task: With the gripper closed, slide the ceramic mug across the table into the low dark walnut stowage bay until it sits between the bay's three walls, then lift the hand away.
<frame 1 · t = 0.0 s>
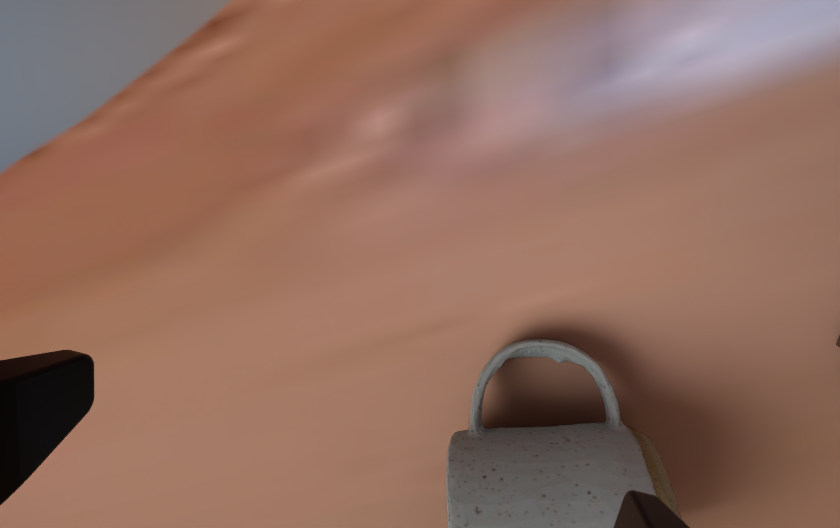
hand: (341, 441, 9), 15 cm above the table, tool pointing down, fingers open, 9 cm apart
ceramic mug: (540, 438, 24), on the table
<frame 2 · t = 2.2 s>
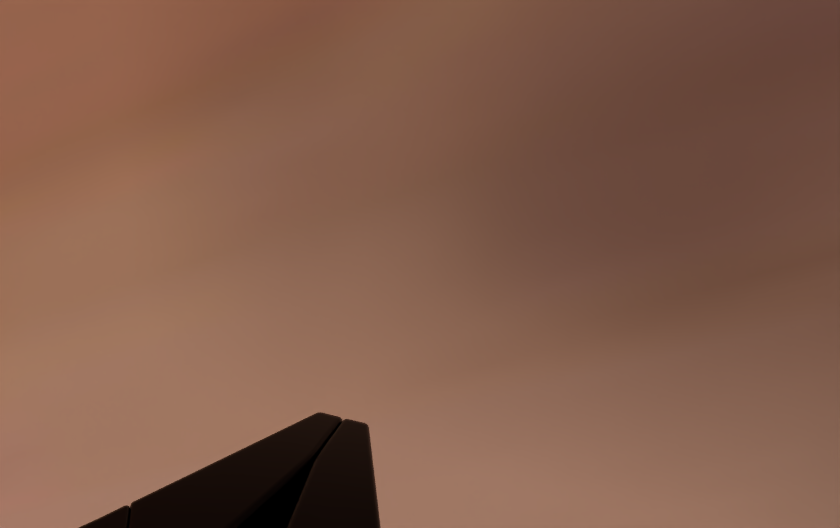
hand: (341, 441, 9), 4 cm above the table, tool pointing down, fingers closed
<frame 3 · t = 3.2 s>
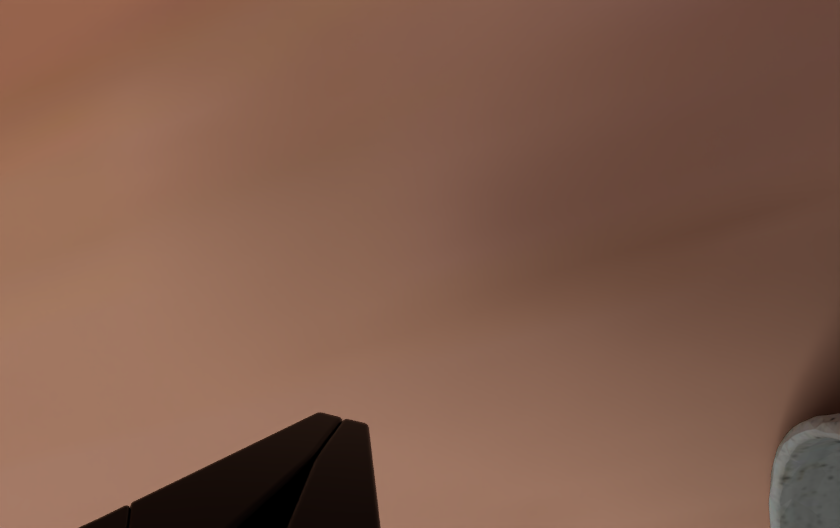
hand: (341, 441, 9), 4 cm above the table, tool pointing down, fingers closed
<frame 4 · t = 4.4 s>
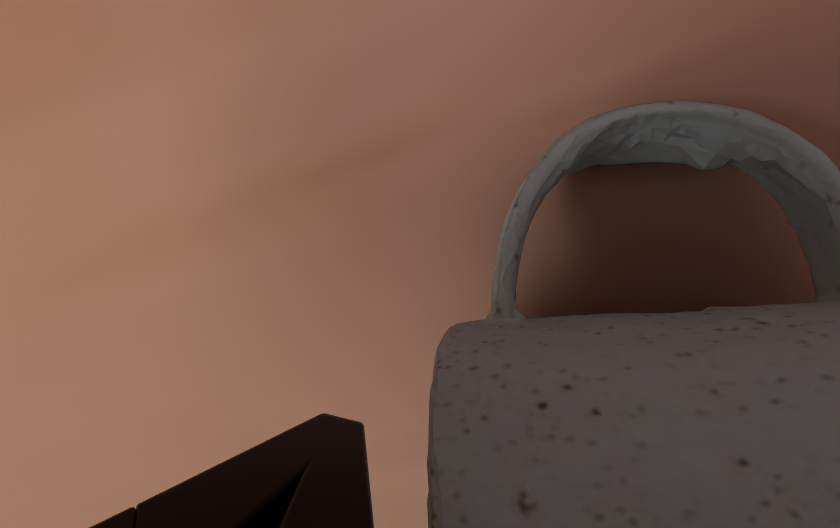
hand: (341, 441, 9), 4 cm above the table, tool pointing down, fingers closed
ceramic mug: (631, 362, 12), on the table, touching gripper
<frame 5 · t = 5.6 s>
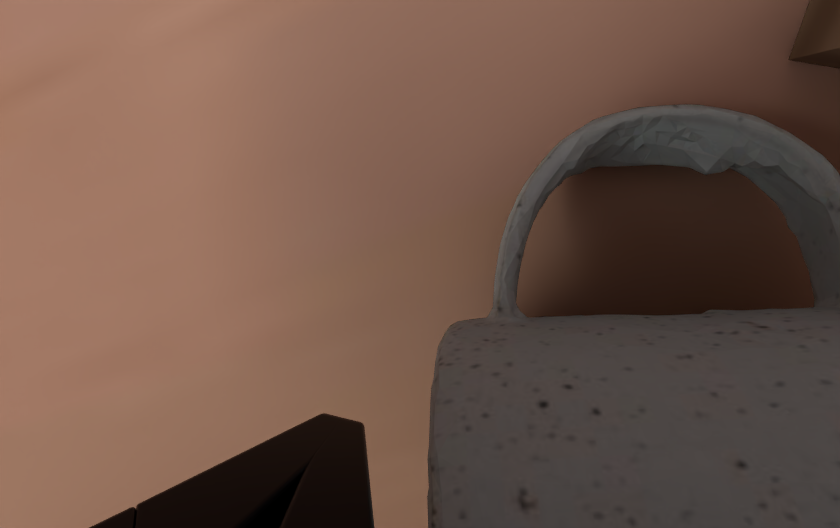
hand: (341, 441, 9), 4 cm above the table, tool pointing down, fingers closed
ceramic mug: (629, 363, 12), on the table, touching gripper
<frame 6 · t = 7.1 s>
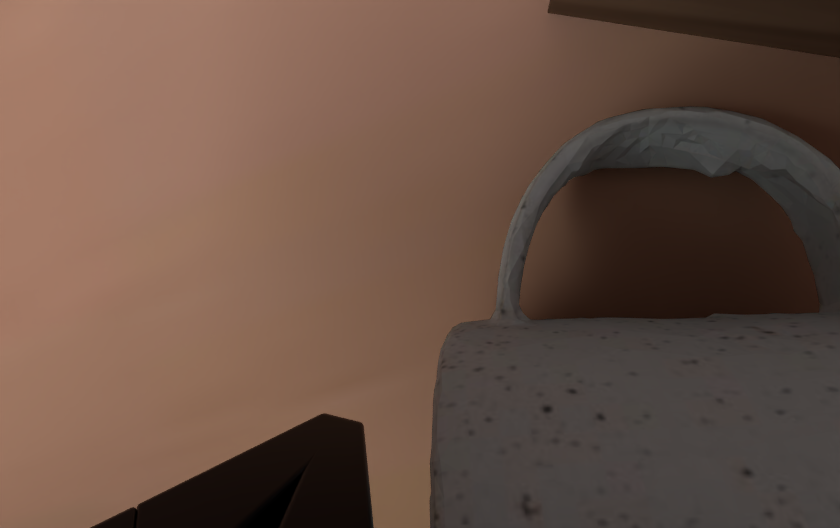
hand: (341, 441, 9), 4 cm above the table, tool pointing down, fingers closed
stowage bay: (739, 425, 11), on the table
ceramic mug: (632, 366, 12), on the table, touching gripper
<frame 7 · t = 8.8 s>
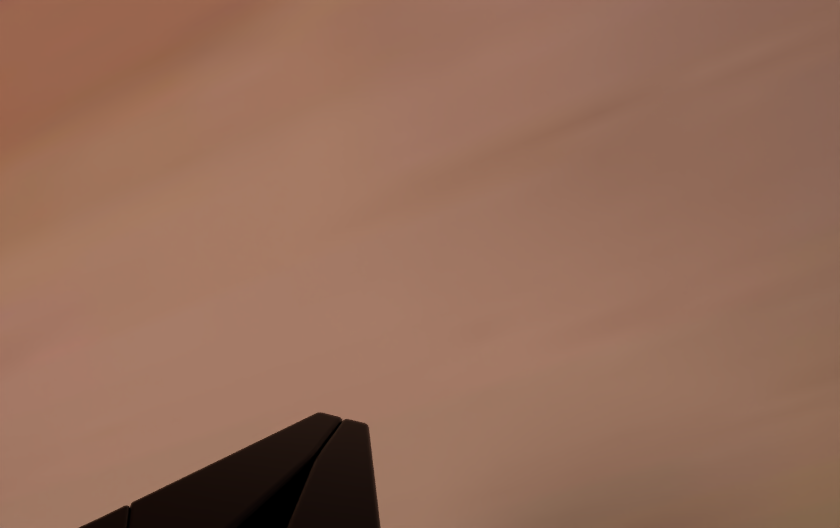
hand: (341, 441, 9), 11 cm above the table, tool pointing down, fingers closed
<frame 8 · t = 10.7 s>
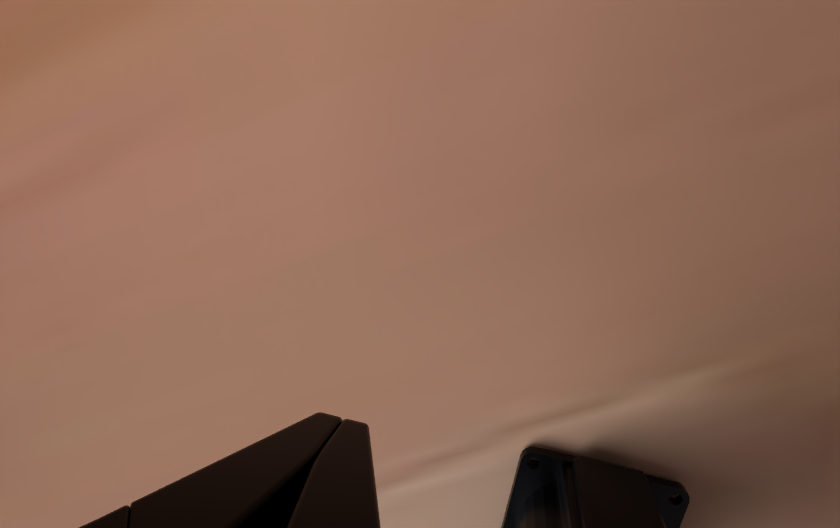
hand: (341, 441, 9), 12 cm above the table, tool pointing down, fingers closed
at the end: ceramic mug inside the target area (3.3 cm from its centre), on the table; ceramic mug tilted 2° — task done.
